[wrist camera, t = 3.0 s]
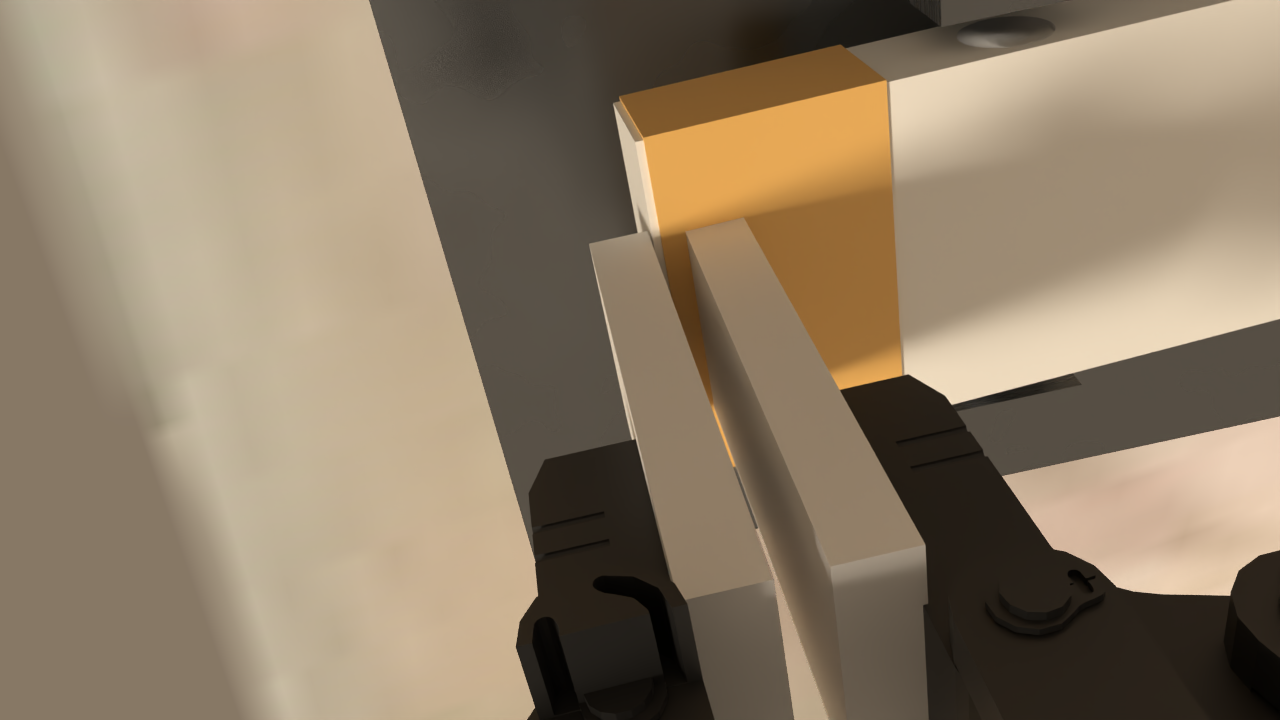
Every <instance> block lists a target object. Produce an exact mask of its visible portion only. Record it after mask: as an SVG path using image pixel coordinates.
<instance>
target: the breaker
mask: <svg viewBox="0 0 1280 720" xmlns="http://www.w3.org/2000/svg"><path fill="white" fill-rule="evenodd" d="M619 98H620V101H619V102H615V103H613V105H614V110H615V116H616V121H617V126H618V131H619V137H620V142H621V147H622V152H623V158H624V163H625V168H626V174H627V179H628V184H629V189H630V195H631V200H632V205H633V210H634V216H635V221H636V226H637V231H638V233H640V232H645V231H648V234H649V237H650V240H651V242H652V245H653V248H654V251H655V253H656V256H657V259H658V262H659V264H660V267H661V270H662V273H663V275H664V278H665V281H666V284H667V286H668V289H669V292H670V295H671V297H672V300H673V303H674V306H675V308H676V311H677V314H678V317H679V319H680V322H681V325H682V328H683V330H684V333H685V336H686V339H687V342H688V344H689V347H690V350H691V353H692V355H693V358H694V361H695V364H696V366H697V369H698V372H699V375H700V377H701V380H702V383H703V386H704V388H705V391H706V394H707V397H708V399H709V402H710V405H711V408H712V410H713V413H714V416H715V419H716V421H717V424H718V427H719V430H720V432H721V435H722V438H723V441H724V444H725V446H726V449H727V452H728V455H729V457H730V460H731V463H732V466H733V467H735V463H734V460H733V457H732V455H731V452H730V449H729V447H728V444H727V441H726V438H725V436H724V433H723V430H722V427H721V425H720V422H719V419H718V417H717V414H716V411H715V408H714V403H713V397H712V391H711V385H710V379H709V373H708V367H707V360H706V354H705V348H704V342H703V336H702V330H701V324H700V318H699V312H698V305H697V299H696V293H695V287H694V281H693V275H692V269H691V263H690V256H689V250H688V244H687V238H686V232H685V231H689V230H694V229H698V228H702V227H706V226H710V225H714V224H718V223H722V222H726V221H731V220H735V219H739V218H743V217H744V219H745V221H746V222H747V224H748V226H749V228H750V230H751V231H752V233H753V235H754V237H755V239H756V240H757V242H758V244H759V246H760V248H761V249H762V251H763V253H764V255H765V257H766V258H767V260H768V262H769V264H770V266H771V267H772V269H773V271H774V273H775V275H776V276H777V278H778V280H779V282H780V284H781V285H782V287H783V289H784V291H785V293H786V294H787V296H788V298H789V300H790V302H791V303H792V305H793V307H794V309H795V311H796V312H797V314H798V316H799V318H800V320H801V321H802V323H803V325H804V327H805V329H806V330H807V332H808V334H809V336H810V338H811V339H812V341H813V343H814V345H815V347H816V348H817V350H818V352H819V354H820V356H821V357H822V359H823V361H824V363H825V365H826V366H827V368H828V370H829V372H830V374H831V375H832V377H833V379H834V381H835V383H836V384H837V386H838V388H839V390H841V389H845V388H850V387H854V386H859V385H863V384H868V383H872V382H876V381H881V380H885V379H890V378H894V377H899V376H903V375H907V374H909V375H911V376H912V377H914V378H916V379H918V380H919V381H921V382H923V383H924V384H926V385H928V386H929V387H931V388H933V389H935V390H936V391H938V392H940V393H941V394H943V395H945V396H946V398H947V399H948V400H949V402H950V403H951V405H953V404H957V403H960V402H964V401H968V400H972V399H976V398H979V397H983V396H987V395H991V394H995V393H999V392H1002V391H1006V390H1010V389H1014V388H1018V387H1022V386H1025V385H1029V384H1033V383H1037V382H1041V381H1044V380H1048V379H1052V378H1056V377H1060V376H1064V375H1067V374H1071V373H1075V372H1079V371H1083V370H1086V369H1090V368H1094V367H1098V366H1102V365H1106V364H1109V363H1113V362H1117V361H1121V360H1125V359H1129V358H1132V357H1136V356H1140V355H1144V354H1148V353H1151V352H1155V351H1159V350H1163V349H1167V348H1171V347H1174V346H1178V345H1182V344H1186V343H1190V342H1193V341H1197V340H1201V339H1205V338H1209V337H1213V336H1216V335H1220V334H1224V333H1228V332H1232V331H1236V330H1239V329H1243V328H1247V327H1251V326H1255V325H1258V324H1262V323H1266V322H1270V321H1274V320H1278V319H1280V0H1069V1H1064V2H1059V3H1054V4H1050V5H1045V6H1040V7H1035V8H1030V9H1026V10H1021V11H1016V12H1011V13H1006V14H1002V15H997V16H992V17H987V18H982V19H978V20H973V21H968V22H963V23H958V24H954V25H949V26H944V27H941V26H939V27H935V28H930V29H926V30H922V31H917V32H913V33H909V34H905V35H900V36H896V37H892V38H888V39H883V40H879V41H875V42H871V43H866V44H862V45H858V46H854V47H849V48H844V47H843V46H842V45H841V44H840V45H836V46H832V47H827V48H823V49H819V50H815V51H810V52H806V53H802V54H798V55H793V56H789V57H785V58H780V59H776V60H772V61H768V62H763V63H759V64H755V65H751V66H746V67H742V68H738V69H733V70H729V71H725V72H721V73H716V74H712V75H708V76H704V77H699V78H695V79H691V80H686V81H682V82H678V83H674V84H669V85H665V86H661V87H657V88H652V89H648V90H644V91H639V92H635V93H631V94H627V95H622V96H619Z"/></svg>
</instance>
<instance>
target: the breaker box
mask: <svg viewBox="0 0 1280 720" xmlns="http://www.w3.org/2000/svg"><path fill="white" fill-rule="evenodd" d="M369 1H370V5H371V8H372V11H373V15H374V18H375V22H376V25H377V28H378V32H379V35H380V38H381V42H382V45H383V49H384V52H385V55H386V59H387V62H388V65H389V69H390V72H391V76H392V79H393V82H394V86H395V89H396V92H397V96H398V99H399V103H400V106H401V109H402V113H403V116H404V119H405V123H406V126H407V130H408V133H409V136H410V140H411V143H412V146H413V150H414V153H415V157H416V160H417V163H418V167H419V170H420V173H421V177H422V180H423V184H424V187H425V190H426V194H427V197H428V200H429V204H430V207H431V210H432V214H433V217H434V221H435V224H436V227H437V231H438V234H439V237H440V241H441V244H442V248H443V251H444V254H445V258H446V261H447V264H448V268H449V271H450V275H451V278H452V281H453V285H454V288H455V291H456V295H457V298H458V302H459V305H460V308H461V312H462V315H463V318H464V322H465V325H466V329H467V332H468V335H469V339H470V342H471V345H472V349H473V352H474V356H475V359H476V362H477V366H478V369H479V372H480V376H481V379H482V383H483V386H484V389H485V393H486V396H487V399H488V403H489V406H490V410H491V413H492V416H493V420H494V423H495V426H496V430H497V433H498V437H499V440H500V443H501V447H502V450H503V453H504V457H505V460H506V464H507V467H508V470H509V474H510V477H511V480H512V484H513V487H514V491H515V494H516V497H517V501H518V504H519V507H520V511H521V514H522V518H523V521H524V524H525V528H526V531H527V534H528V538H529V541H530V545H531V548H532V551H533V555H534V546H533V536H532V534H533V531H532V526H531V515H530V505H529V494H528V493H529V491H530V489H531V487H532V485H533V483H534V481H535V479H536V477H537V475H538V472H539V470H540V468H541V466H542V464H543V462H544V460H545V459H549V458H554V457H558V456H563V455H567V454H571V453H576V452H580V451H585V450H589V449H594V448H598V447H602V446H607V445H611V444H616V443H620V442H624V441H629V440H632V438H631V434H630V430H629V425H628V421H627V417H626V412H625V408H624V403H623V399H622V394H621V389H620V385H619V380H618V375H617V371H616V366H615V362H614V357H613V352H612V348H611V343H610V339H609V334H608V329H607V325H606V320H605V315H604V311H603V306H602V302H601V297H600V292H599V288H598V283H597V278H596V274H595V269H594V265H593V260H592V255H591V251H590V246H589V244H590V243H595V242H599V241H604V240H608V239H613V238H617V237H622V236H626V235H631V234H635V233H638V231H637V226H636V221H635V216H634V210H633V205H632V200H631V195H630V189H629V184H628V179H627V174H626V168H625V163H624V158H623V152H622V147H621V142H620V137H619V131H618V126H617V121H616V116H615V110H614V105H613V103H615V102H619V101H620V98H619V96H622V95H627V94H631V93H635V92H639V91H644V90H648V89H652V88H657V87H661V86H665V85H669V84H674V83H678V82H682V81H686V80H691V79H695V78H699V77H704V76H708V75H712V74H716V73H721V72H725V71H729V70H733V69H738V68H742V67H746V66H751V65H755V64H759V63H763V62H768V61H772V60H776V59H780V58H785V57H789V56H793V55H798V54H802V53H806V52H810V51H815V50H819V49H823V48H827V47H832V46H836V45H840V44H841V45H842V46H843V47H844V48H849V47H854V46H858V45H862V44H866V43H871V42H875V41H879V40H883V39H888V38H892V37H896V36H900V35H905V34H909V33H913V32H917V31H922V30H926V29H930V28H935V27H939V26H941V27H944V26H949V25H954V24H958V23H963V22H968V21H973V20H978V19H982V18H987V17H992V16H997V15H1002V14H1006V13H1011V12H1016V11H1021V10H1026V9H1030V8H1035V7H1040V6H1045V5H1050V4H1054V3H1059V2H1064V1H1069V0H369ZM952 406H953V408H954V409H955V410H956V412H957V413H958V415H959V416H960V418H961V419H962V420H963V422H964V423H965V425H966V428H967V431H968V432H969V431H970V432H971V433H972V435H973V436H974V437H975V439H976V440H977V442H978V443H979V445H980V446H981V447H982V449H983V453H984V456H985V457H986V456H988V457H989V459H990V460H991V462H992V463H993V465H994V466H995V467H996V469H997V470H998V472H999V473H1000V475H1001V476H1004V475H1009V474H1013V473H1018V472H1023V471H1027V470H1032V469H1037V468H1041V467H1046V466H1051V465H1055V464H1060V463H1065V462H1069V461H1074V460H1079V459H1083V458H1088V457H1093V456H1097V455H1102V454H1106V453H1111V452H1116V451H1120V450H1125V449H1130V448H1134V447H1139V446H1144V445H1148V444H1153V443H1158V442H1162V441H1167V440H1172V439H1176V438H1181V437H1186V436H1190V435H1195V434H1200V433H1204V432H1209V431H1214V430H1218V429H1223V428H1228V427H1232V426H1237V425H1242V424H1246V423H1251V422H1256V421H1260V420H1265V419H1270V418H1274V417H1279V416H1280V319H1278V320H1274V321H1270V322H1266V323H1262V324H1258V325H1255V326H1251V327H1247V328H1243V329H1239V330H1236V331H1232V332H1228V333H1224V334H1220V335H1216V336H1213V337H1209V338H1205V339H1201V340H1197V341H1193V342H1190V343H1186V344H1182V345H1178V346H1174V347H1171V348H1167V349H1163V350H1159V351H1155V352H1151V353H1148V354H1144V355H1140V356H1136V357H1132V358H1129V359H1125V360H1121V361H1117V362H1113V363H1109V364H1106V365H1102V366H1098V367H1094V368H1090V369H1086V370H1083V371H1079V372H1075V373H1071V374H1067V375H1064V376H1060V377H1056V378H1052V379H1048V380H1044V381H1041V382H1037V383H1033V384H1029V385H1025V386H1022V387H1018V388H1014V389H1010V390H1006V391H1002V392H999V393H995V394H991V395H987V396H983V397H979V398H976V399H972V400H968V401H964V402H960V403H957V404H953V405H952ZM733 468H734V471H735V474H736V477H737V479H738V482H739V485H740V488H741V490H742V493H743V496H744V499H745V501H746V504H747V507H748V510H749V512H750V515H751V518H752V521H753V523H754V526H755V529H757V528H758V526H757V523H756V520H755V517H754V515H753V512H752V509H751V507H750V504H749V501H748V498H747V496H746V493H745V490H744V487H743V485H742V482H741V479H740V477H739V474H738V471H737V468H736V466H735V467H733ZM534 558H535V556H534Z"/></svg>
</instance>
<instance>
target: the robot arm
mask: <svg viewBox="0 0 1280 720" xmlns="http://www.w3.org/2000/svg"><path fill="white" fill-rule="evenodd" d="M685 232H686V238H687V244H688V250H689V256H690V263H691V269H692V275H693V281H694V287H695V293H696V299H697V305H698V312H699V318H700V324H701V330H702V336H703V342H704V348H705V354H706V360H707V367H708V373H709V379H710V385H711V391H712V397H713V403H714V408H715V411H716V414H717V417H718V419H719V422H720V425H721V427H722V430H723V433H724V436H725V438H726V441H727V444H728V447H729V449H730V452H731V455H732V457H733V460H734V463H735V466H736V468H737V471H738V474H739V477H740V479H741V482H742V485H743V487H744V490H745V493H746V496H747V498H748V501H749V504H750V507H751V509H752V512H753V515H754V517H755V520H756V523H757V526H758V528H759V531H760V534H761V537H762V539H763V542H764V545H765V547H766V550H767V553H768V556H769V558H770V561H771V564H772V567H773V569H774V572H775V575H776V577H777V580H778V583H779V586H780V588H781V591H782V594H783V597H784V599H785V602H786V605H787V607H788V610H789V613H790V616H791V618H792V621H793V624H794V626H795V629H796V632H797V635H798V637H799V640H800V643H801V646H802V648H803V651H804V654H805V656H806V659H807V662H808V665H809V667H810V670H811V673H812V676H813V678H814V681H815V684H816V686H817V689H818V692H819V695H820V697H821V700H822V703H823V706H824V708H825V711H826V714H827V716H828V719H829V720H1280V550H1279V551H1275V552H1271V553H1267V554H1263V555H1259V556H1258V557H1257V558H1255V559H1254V560H1253V561H1251V562H1250V563H1249V564H1247V565H1246V566H1245V567H1243V568H1242V569H1240V570H1239V572H1238V574H1237V577H1236V580H1235V582H1234V585H1233V588H1232V590H1231V595H1230V596H1212V595H1163V594H1152V593H1142V592H1133V591H1129V590H1125V589H1121V588H1118V587H1116V586H1115V585H1114V584H1113V583H1112V582H1111V581H1110V580H1109V579H1108V578H1107V577H1106V576H1105V575H1104V574H1103V573H1102V572H1101V571H1100V570H1098V569H1097V568H1096V567H1095V566H1094V565H1092V564H1090V563H1088V562H1086V561H1084V560H1082V559H1080V558H1078V557H1076V556H1073V555H1071V554H1069V553H1067V552H1064V551H1059V550H1054V549H1053V548H1052V547H1051V546H1050V545H1049V543H1048V542H1047V540H1046V539H1045V537H1044V536H1043V535H1042V533H1041V532H1040V530H1039V529H1038V527H1037V526H1036V525H1035V523H1034V522H1033V520H1032V519H1031V517H1030V516H1029V515H1028V513H1027V512H1026V510H1025V509H1024V507H1023V506H1022V505H1021V503H1020V502H1019V500H1018V499H1017V497H1016V496H1015V495H1014V493H1013V492H1012V490H1011V489H1010V487H1009V486H1008V485H1007V483H1006V482H1005V480H1004V479H1003V477H1002V476H1001V475H1000V473H999V472H998V470H997V469H996V467H995V466H994V465H993V463H992V462H991V460H990V459H989V457H988V456H986V457H985V456H984V453H983V449H982V447H981V446H980V445H979V443H978V442H977V440H976V439H975V437H974V436H973V435H972V433H971V432H970V431H969V432H968V431H967V428H966V425H965V423H964V422H963V420H962V419H961V418H960V416H959V415H958V413H957V412H956V410H955V409H954V408H953V406H952V405H951V403H950V402H949V400H948V399H947V398H946V396H945V395H943V394H941V393H940V392H938V391H936V390H935V389H933V388H931V387H929V386H928V385H926V384H924V383H923V382H921V381H919V380H918V379H916V378H914V377H912V376H911V375H909V374H907V375H903V376H899V377H894V378H890V379H885V380H881V381H876V382H872V383H868V384H863V385H859V386H854V387H850V388H845V389H841V390H839V388H838V386H837V384H836V383H835V381H834V379H833V377H832V375H831V374H830V372H829V370H828V368H827V366H826V365H825V363H824V361H823V359H822V357H821V356H820V354H819V352H818V350H817V348H816V347H815V345H814V343H813V341H812V339H811V338H810V336H809V334H808V332H807V330H806V329H805V327H804V325H803V323H802V321H801V320H800V318H799V316H798V314H797V312H796V311H795V309H794V307H793V305H792V303H791V302H790V300H789V298H788V296H787V294H786V293H785V291H784V289H783V287H782V285H781V284H780V282H779V280H778V278H777V276H776V275H775V273H774V271H773V269H772V267H771V266H770V264H769V262H768V260H767V258H766V257H765V255H764V253H763V251H762V249H761V248H760V246H759V244H758V242H757V240H756V239H755V237H754V235H753V233H752V231H751V230H750V228H749V226H748V224H747V222H746V221H745V219H744V217H743V218H739V219H735V220H731V221H726V222H722V223H718V224H714V225H710V226H706V227H702V228H698V229H694V230H689V231H685ZM589 246H590V251H591V255H592V260H593V265H594V269H595V274H596V278H597V283H598V288H599V292H600V297H601V302H602V306H603V311H604V315H605V320H606V325H607V329H608V334H609V339H610V343H611V348H612V352H613V357H614V362H615V366H616V371H617V375H618V380H619V385H620V389H621V394H622V399H623V403H624V408H625V412H626V417H627V421H628V425H629V430H630V434H631V438H632V440H629V441H624V442H620V443H616V444H611V445H607V446H602V447H598V448H594V449H589V450H585V451H580V452H576V453H571V454H567V455H563V456H558V457H554V458H549V459H545V460H544V462H543V464H542V466H541V468H540V470H539V472H538V475H537V477H536V479H535V481H534V483H533V485H532V487H531V489H530V491H529V493H528V494H529V505H530V515H531V526H532V531H533V534H532V536H533V546H534V556H535V561H536V563H535V567H536V578H537V588H538V597H536V598H535V600H534V601H533V603H532V604H531V606H530V607H529V609H528V610H527V612H526V613H525V615H524V616H523V618H522V619H521V621H520V624H519V630H518V637H517V643H516V649H517V652H518V655H519V658H520V661H521V664H522V668H523V671H524V674H525V677H526V680H527V683H528V686H529V689H530V692H531V695H532V698H533V702H534V705H535V709H534V710H533V712H532V713H531V715H530V716H529V718H528V719H527V720H794V716H793V709H792V702H791V695H790V688H789V681H788V674H787V667H786V660H785V653H784V646H783V640H782V633H781V626H780V619H779V612H778V605H777V598H776V591H775V584H774V579H773V576H772V573H771V570H770V568H769V565H768V562H767V559H766V557H765V554H764V551H763V548H762V546H761V543H760V540H759V537H758V534H757V532H756V529H755V526H754V523H753V521H752V518H751V515H750V512H749V510H748V507H747V504H746V501H745V499H744V496H743V493H742V490H741V488H740V485H739V482H738V479H737V477H736V474H735V471H734V468H733V466H732V463H731V460H730V457H729V455H728V452H727V449H726V446H725V444H724V441H723V438H722V435H721V432H720V430H719V427H718V424H717V421H716V419H715V416H714V413H713V410H712V408H711V405H710V402H709V399H708V397H707V394H706V391H705V388H704V386H703V383H702V380H701V377H700V375H699V372H698V369H697V366H696V364H695V361H694V358H693V355H692V353H691V350H690V347H689V344H688V342H687V339H686V336H685V333H684V330H683V328H682V325H681V322H680V319H679V317H678V314H677V311H676V308H675V306H674V303H673V300H672V297H671V295H670V292H669V289H668V286H667V284H666V281H665V278H664V275H663V273H662V270H661V267H660V264H659V262H658V259H657V256H656V253H655V251H654V248H653V245H652V242H651V240H650V237H649V234H648V231H645V232H640V233H635V234H631V235H626V236H622V237H617V238H613V239H608V240H604V241H599V242H595V243H590V244H589Z"/></svg>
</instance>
